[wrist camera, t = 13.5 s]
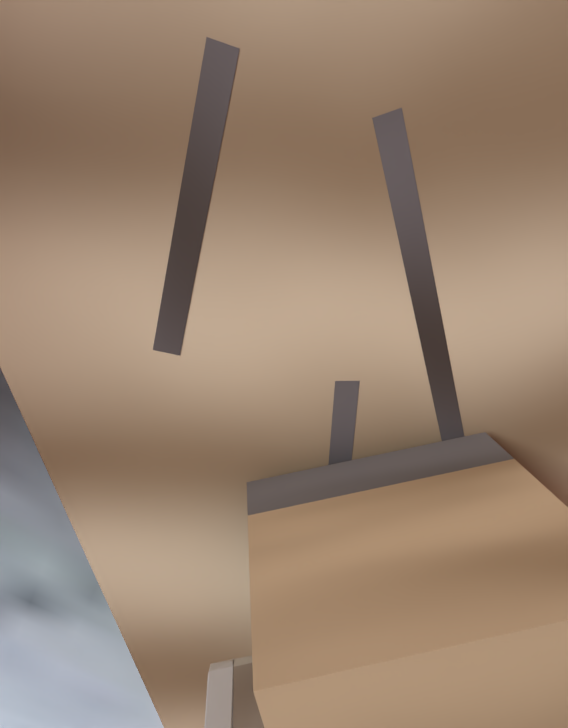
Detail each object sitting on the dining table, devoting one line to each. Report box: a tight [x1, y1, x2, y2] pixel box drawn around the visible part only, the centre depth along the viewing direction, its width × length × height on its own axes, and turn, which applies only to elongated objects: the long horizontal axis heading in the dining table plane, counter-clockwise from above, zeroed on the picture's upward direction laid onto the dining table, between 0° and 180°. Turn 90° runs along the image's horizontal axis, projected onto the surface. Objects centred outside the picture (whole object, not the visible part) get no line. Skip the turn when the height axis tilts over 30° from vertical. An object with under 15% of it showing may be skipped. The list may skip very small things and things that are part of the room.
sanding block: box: [247, 432, 568, 728], centre depth 8 cm, size 8×5×4 cm, turn 10°
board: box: [0, 0, 568, 728], centre depth 10 cm, size 22×13×1 cm, turn 10°
